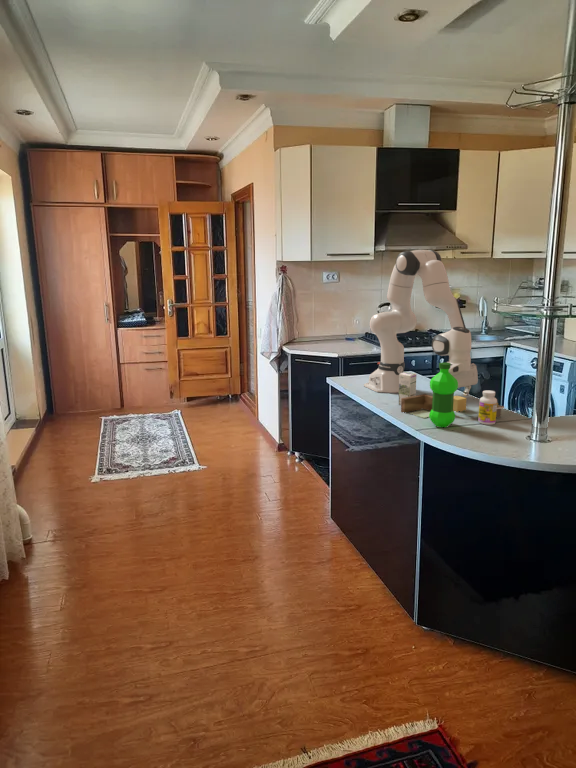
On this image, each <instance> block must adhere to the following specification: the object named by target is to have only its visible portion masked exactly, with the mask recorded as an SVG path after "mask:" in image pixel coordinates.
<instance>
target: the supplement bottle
mask: <svg viewBox="0 0 576 768" xmlns="http://www.w3.org/2000/svg"><path fill="white" fill-rule="evenodd" d="M495 396H496V391H495V390H483V391H482V396H481V397H480V398H479V401H478V402H479V403H478V404H479V406H478V420H477V422H478V423H479V424H481V425H487V426H490V425H491V426H492V425H495V423H497V422H496V421H497V418H496V412H497V403H498V399H497V398H496V397H495Z"/></svg>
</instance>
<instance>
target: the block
mask: <svg viewBox="0 0 576 768" xmlns="http://www.w3.org/2000/svg"><path fill="white" fill-rule="evenodd" d="M467 399H468V398H467V397H465V396H460V395H454V402H453V411H456V412H455V413H459V412H458V411H460V412H464V411H463V410H465V411H467Z"/></svg>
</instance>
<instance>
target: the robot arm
mask: <svg viewBox="0 0 576 768" xmlns="http://www.w3.org/2000/svg"><path fill="white" fill-rule="evenodd" d="M395 259H396V260H395V264H394V266H393V269H392V272H391V275H390V278H389V283H388V289H387V293H386V299H387V300H388V302H389V303H391V306H392V309H391V311H382V312H378V313H376V314H373V315H372V316H371V318H370V320H369V327H370V330H371V332H372V333H373V334H374V335H375V336H376V337H377V339H378V341H379V345H380V361H377V365H378V368H377V369H375V370H374V371H373V372H371V373H370V374H369V377H368V382H365V383H364V384H363V387H365V388H367V389H369V390H372V391H374V392H376V393H390V394H392V393H394V394H395V393H399V374H401V373H403V372H405V371H404V370H405V365H406V363H405V361H404V360H405V359H404V357H405V347H404V344H403V343H401V342H400V341H399V340H398V336H397V334H405V333H408V332H410V331H413V330H415V328H416V327H417V321H418V320H417V316H416V314H415V313H414V311H412V308H411V299H412V294H413V293H412V291H413V287H414V283H415V282H414V281H415V278H416V277H417V276H419V277H420V278H421V283H422V290H423V296H424V298H425V300H426V302H427V303H428V304H430V305H431V306H432V307H436V308H438V309H440V310H442V311H443V312H445V313H446V315H447V317H448V318H447V319H448V321H449V325H450V328H451V329H450V330H448V331H446V332H442V333H439V334H436V335H435V336H433V338H432V340H431V348H432V352H433V353H434V354H435V355H437V356H443V357H444V356H448V361H446V362H445V363H450V364H451V366H450V369H449V373H450V374H451V375H452V376H453V377H454V378H455V379H456V380H457V382H458V388H457V389H459V388H465V389H464V391H463V390H462V391H463V392H462V393H463V394H462V396H463V397H467V396H469V394H470V393H469V392H470V390H471V388H472V386H475V385H477V384H478V382H479V379H478V369H477V367H478V366H477V365H476V364H475V363H474V362H473V363H472V362H471V361H472V360H471V359H472V357H471V351H472V333H471V330H470V329H469V328H467V327H466V325H465V324H466V323H465V320H464V317H463V314H462V313H463V312H462V310H461V307H460V304H459V302H458V300H457V298H456V297H455V296H454V294H453V292H452V290H451V287H450V282H449V277H448V274H447V270H446V268H445V265H444V263H443V262H442V257H441V255H440V253H439V252H437V251H436V250H433V249H432V250H431V249H428V250H427V249H415V250H404V251H402V252H399V254H398V255H397V256H396V258H395Z"/></svg>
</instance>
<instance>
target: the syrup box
mask: <svg viewBox="0 0 576 768" xmlns="http://www.w3.org/2000/svg"><path fill="white" fill-rule="evenodd" d="M416 391H417V373H416V372H409V371H404V372H403V373H401V374H399V392H398V405H399V406H401V398H406V397H411V396H416V395H417V393H416Z"/></svg>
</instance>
